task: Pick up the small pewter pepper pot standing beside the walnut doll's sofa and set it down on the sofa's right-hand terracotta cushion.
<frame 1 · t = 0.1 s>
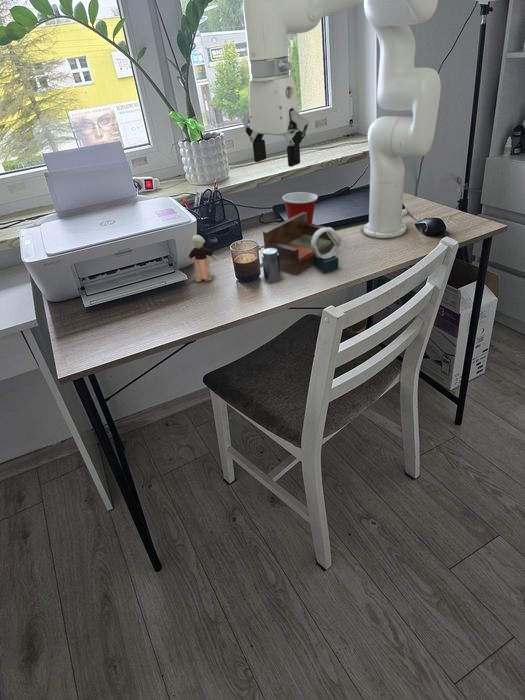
hand: (277, 162, 98), 31 cm above the table, tool pointing down, fingers open, 9 cm apart
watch: (326, 268, 125), on the table
plastic cup: (302, 234, 146), on the table
sofa: (300, 258, 131), on the table
grandmother figurine: (205, 279, 127), on the table
pepper pot: (272, 278, 123), on the table
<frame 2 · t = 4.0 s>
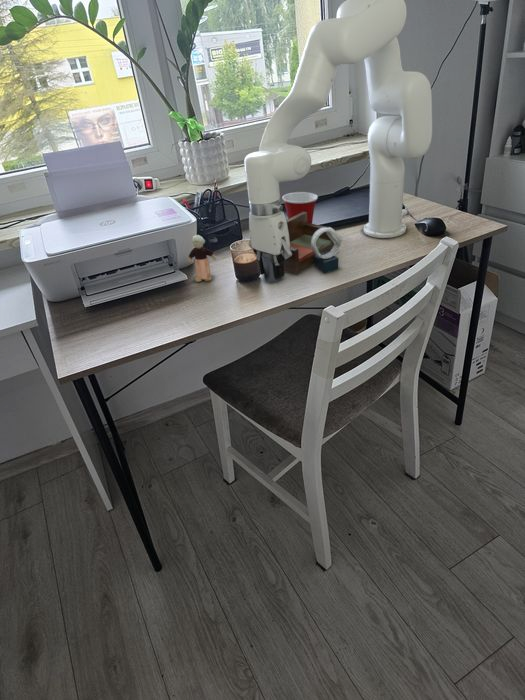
hand: (272, 274, 122), 1 cm above the table, tool pointing down, fingers closed on pepper pot, 4 cm apart
pepper pot: (272, 278, 123), on the table, touching gripper
everything else where it was.
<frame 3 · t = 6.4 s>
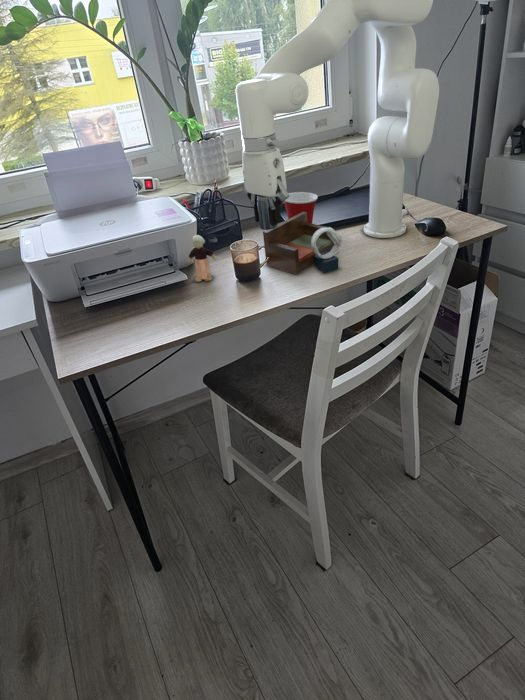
hand: (268, 221, 114), 16 cm above the table, tool pointing down, fingers closed on pepper pot, 4 cm apart
pepper pot: (268, 226, 115), point 14 cm above the table, touching gripper
everything else where it was.
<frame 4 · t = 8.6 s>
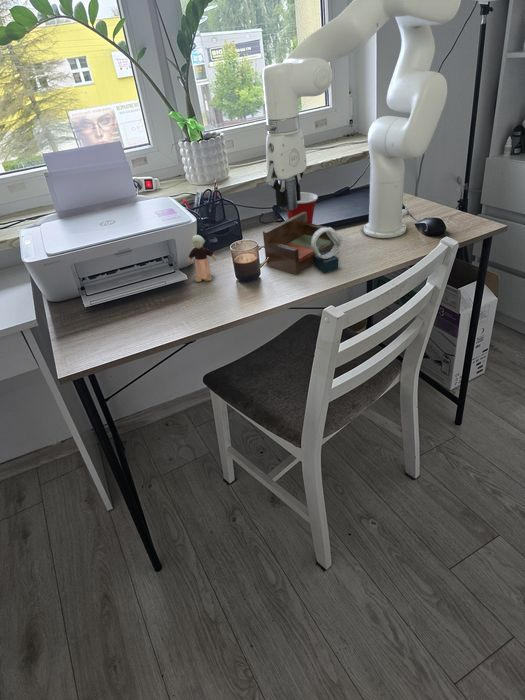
hand: (288, 202, 118), 18 cm above the table, tool pointing down, fingers closed on pepper pot, 4 cm apart
pepper pot: (289, 207, 119), point 16 cm above the table, touching gripper
everything else where it was.
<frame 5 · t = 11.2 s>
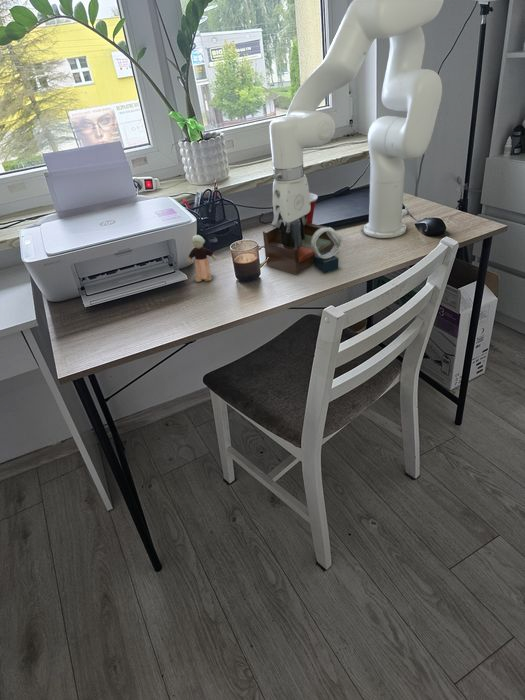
hand: (293, 241, 125), 7 cm above the table, tool pointing down, fingers closed on pepper pot, 4 cm apart
pepper pot: (294, 246, 126), point 5 cm above the table, touching gripper
everything else where it was.
when the fingers open (7 cm above the table, at t = 13.3 s): pepper pot drops 1 cm, resting on sofa.
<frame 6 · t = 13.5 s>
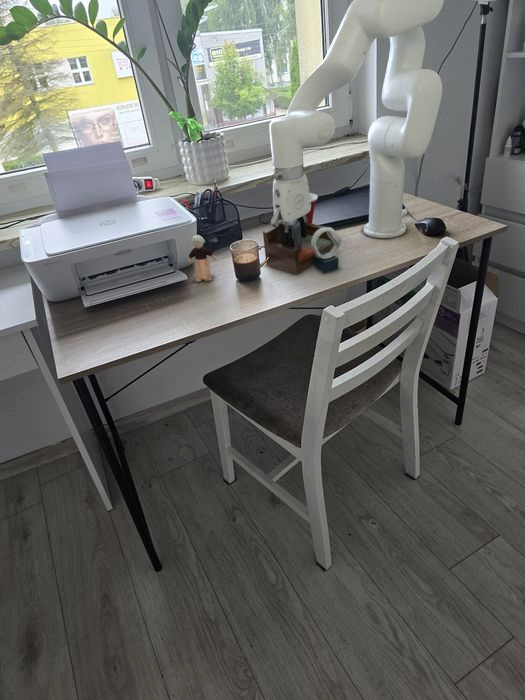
hand: (293, 240, 125), 7 cm above the table, tool pointing down, fingers open, 5 cm apart
pepper pot: (294, 250, 127), point 4 cm above the table, touching sofa
everything else where it was.
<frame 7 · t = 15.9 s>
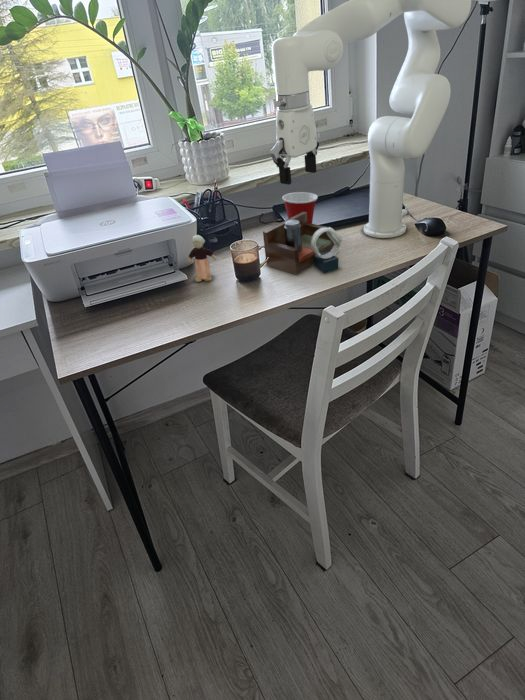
hand: (298, 177, 116), 23 cm above the table, tool pointing down, fingers open, 9 cm apart
nothing on the table moved.
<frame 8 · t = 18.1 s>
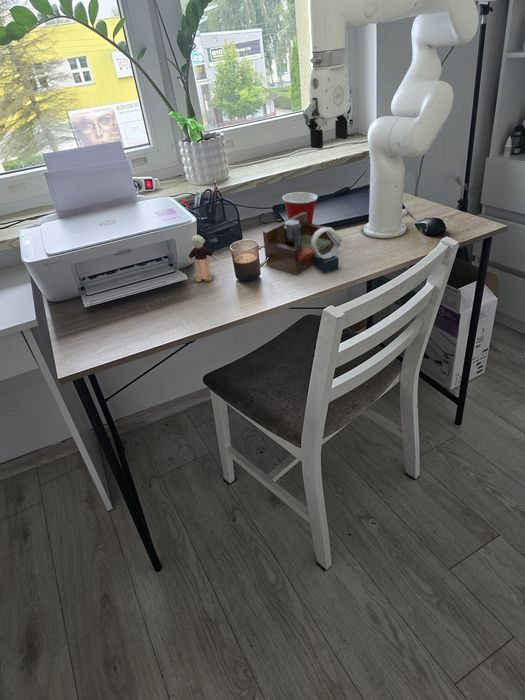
hand: (329, 142, 111), 30 cm above the table, tool pointing down, fingers open, 9 cm apart
nothing on the table moved.
at the end: pepper pot inside the target area on the sofa (0.4 cm from its centre), point 4.0 cm above the sofa's base; pepper pot tilted 0°; the gripper is holding nothing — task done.
